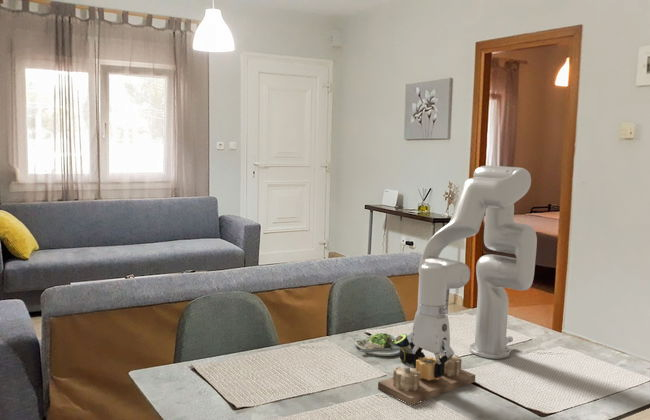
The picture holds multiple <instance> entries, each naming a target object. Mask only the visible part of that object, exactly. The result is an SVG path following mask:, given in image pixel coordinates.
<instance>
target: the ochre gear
mask: <svg viewBox="0 0 650 420" xmlns="http://www.w3.org/2000/svg"><path fill="white" fill-rule="evenodd" d="M426 360H431V361H432V363H426ZM435 363H437V361H436V358H435V357H431V356H425V357H423V358H422V357H419V359H418V360H416V369H417V372H420V378H421V379H422V378H423V379H427V380H434V379H436V380H438V379H439V378H435V377H434V372H435Z"/></svg>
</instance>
